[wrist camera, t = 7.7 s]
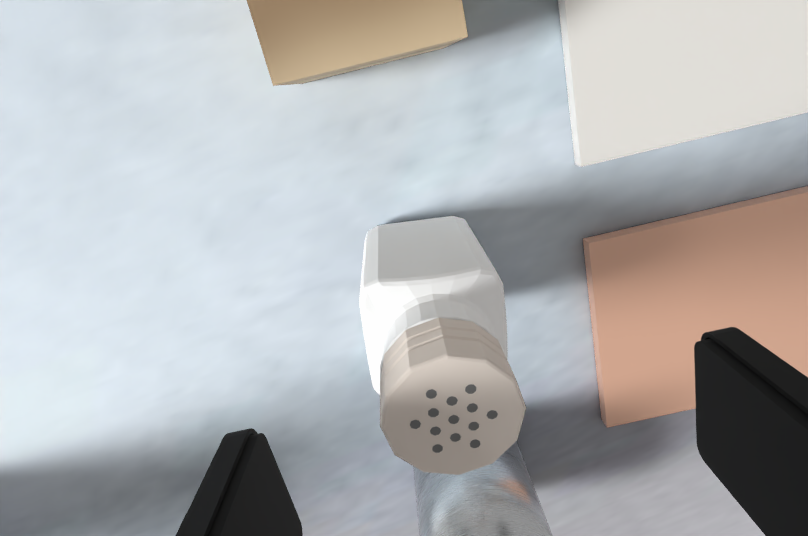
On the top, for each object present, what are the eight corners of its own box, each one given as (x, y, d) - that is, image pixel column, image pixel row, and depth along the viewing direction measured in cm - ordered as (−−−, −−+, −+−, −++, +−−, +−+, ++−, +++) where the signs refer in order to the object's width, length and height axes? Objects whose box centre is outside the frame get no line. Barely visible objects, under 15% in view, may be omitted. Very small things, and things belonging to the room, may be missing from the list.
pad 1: (545, -124, 15) (551, -131, 14) (840, -202, 15) (858, -213, 14) (575, 164, 18) (581, 166, 18) (817, 105, 18) (831, 106, 17)
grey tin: (402, 426, 22) (411, 570, 16) (509, 402, 22) (564, 538, 16) (425, 506, 24) (442, 665, 18) (525, 485, 24) (579, 637, 17)
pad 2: (582, 238, 19) (588, 243, 19) (811, 185, 19) (824, 188, 18) (601, 419, 23) (607, 427, 22) (796, 376, 22) (807, 383, 22)
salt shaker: (376, 315, 20) (374, 500, 11) (362, 222, 19) (347, 351, 10) (472, 303, 20) (546, 478, 11) (466, 209, 19) (544, 326, 10)
